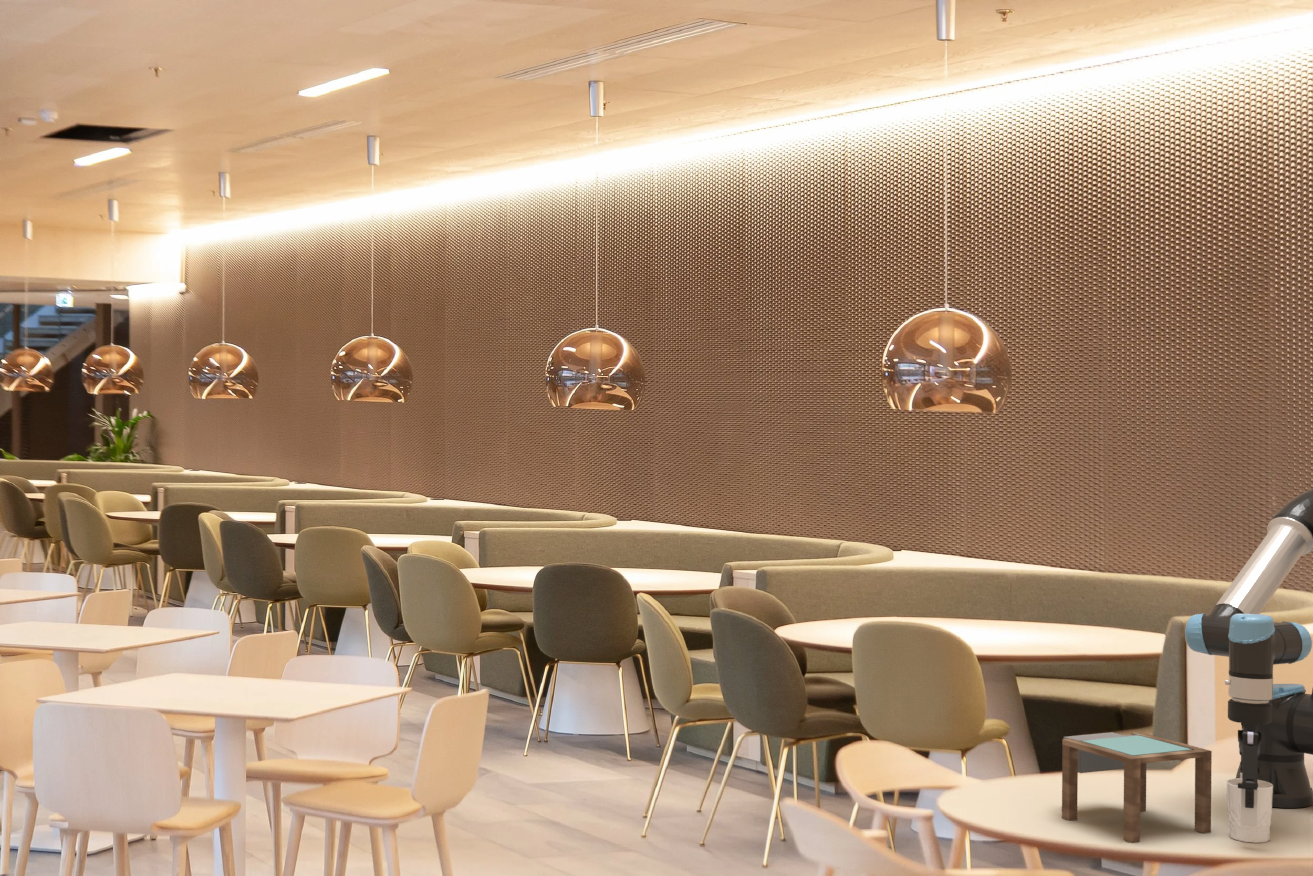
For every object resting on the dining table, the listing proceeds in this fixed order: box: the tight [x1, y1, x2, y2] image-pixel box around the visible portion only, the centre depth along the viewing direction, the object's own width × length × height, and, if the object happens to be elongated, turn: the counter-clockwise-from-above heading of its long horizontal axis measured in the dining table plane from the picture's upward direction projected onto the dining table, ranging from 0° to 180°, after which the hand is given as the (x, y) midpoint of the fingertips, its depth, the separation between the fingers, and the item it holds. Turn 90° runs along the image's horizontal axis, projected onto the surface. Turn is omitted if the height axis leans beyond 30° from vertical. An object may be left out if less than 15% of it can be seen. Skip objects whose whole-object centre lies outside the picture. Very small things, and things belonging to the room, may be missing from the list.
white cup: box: [1225, 777, 1273, 844], centre depth 267 cm, size 8×8×10 cm
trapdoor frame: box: [1061, 731, 1213, 844], centre depth 275 cm, size 19×19×15 cm
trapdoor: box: [1063, 731, 1192, 774], centre depth 278 cm, size 14×20×7 cm
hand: (1248, 817), depth 267 cm, fingers open, 13 cm apart
